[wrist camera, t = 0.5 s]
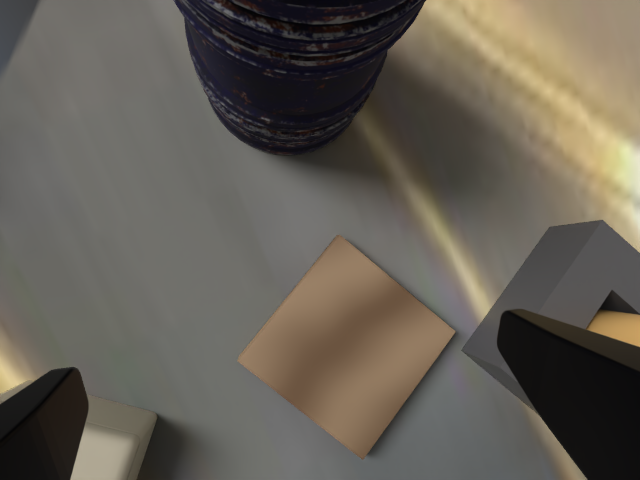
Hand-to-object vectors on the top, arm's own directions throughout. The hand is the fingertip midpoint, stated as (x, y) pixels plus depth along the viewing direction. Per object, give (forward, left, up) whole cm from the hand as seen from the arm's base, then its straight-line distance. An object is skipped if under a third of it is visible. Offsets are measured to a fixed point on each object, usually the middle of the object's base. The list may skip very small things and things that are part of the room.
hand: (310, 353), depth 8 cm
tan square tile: (-5, 0, -14) cm, 15 cm away
